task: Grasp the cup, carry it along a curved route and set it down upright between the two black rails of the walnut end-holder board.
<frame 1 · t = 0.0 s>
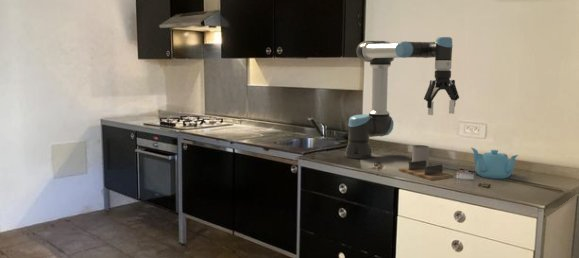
hand: (441, 114, 236), 28 cm above the countertop, fingers open, 13 cm apart
end holder: (425, 173, 234), on the countertop
teapot: (491, 176, 230), on the countertop
cup: (419, 165, 253), on the countertop
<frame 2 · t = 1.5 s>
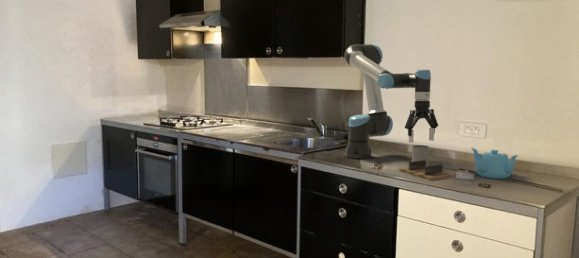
hand: (421, 141, 251), 13 cm above the countertop, fingers open, 13 cm apart
nothing on the countertop moved.
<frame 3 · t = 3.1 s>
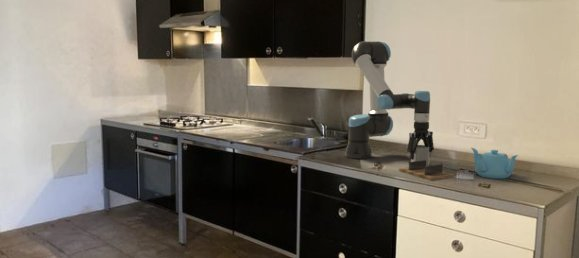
hand: (420, 164, 253), 0 cm above the countertop, fingers closed on cup, 8 cm apart
cup: (419, 165, 253), on the countertop, touching gripper
everything else where it was.
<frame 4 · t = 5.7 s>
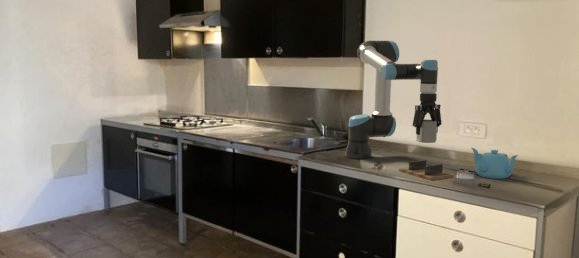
hand: (426, 140, 232), 16 cm above the countertop, fingers closed on cup, 8 cm apart
cup: (426, 141, 232), point 15 cm above the countertop, touching gripper
everything else where it was.
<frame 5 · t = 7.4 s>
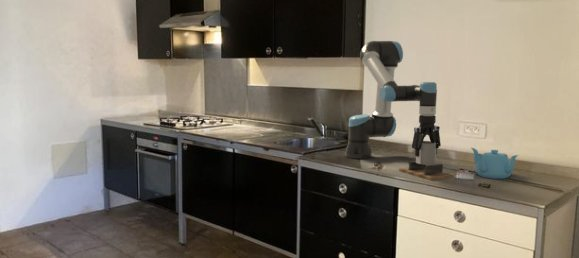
hand: (425, 162, 233), 6 cm above the countertop, fingers closed on cup, 8 cm apart
cup: (425, 163, 233), point 5 cm above the countertop, touching gripper
everything else where it was.
when the fingers open (3 cm above the countertop, at t = 8.4 s): cup drops 2 cm, resting on end holder.
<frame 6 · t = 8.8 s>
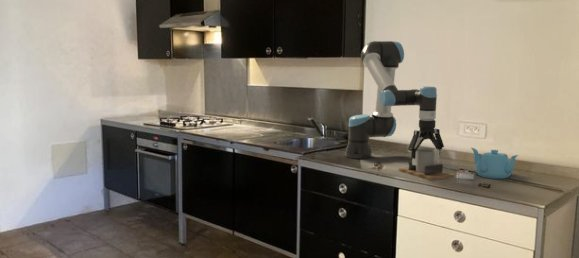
hand: (425, 163, 233), 5 cm above the countertop, fingers open, 13 cm apart
cup: (424, 171, 234), point 1 cm above the countertop, touching end holder
everything else where it was.
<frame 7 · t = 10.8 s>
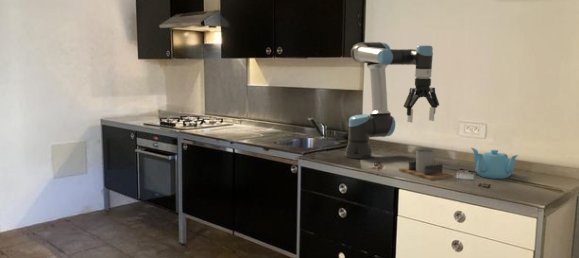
hand: (420, 121, 240), 24 cm above the countertop, fingers open, 13 cm apart
nothing on the countertop moved.
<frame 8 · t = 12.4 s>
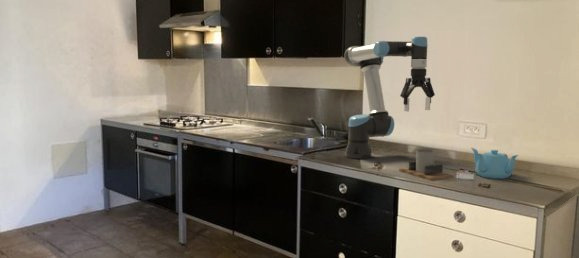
hand: (417, 110, 246), 29 cm above the countertop, fingers open, 13 cm apart
nothing on the countertop moved.
at the end: cup 0.3 cm from the end holder (horizontally); cup tilted 0°; cup point 1.0 cm above the countertop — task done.
